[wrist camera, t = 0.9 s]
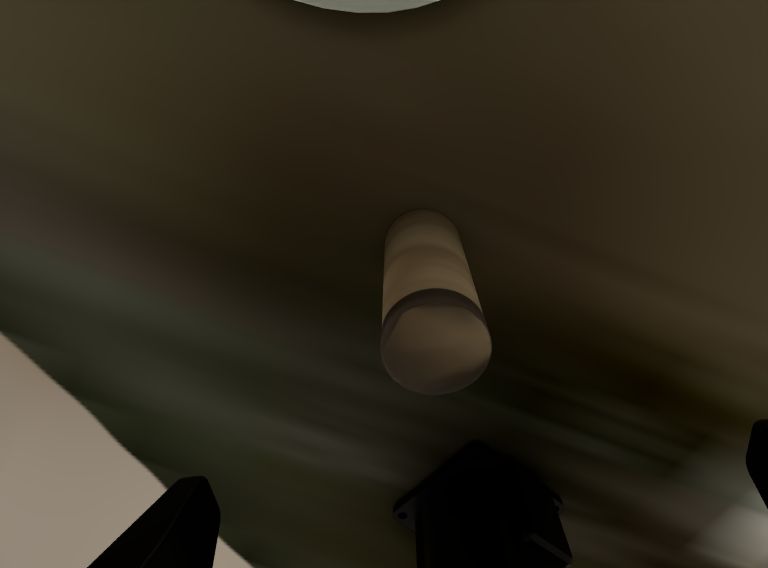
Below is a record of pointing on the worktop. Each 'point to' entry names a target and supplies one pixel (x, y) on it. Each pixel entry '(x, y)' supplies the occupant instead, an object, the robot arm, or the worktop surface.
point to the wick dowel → (430, 308)
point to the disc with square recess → (368, 5)
